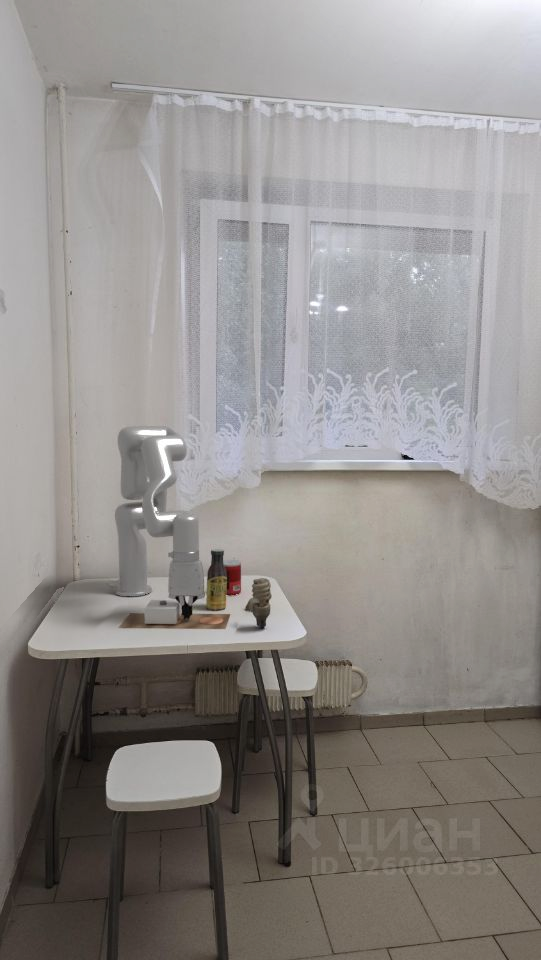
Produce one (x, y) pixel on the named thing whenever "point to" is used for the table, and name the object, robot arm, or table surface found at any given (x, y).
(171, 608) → the block
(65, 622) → the table surface
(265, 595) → the light bulb
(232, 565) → the canned food
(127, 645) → the table surface
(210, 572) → the sauce bottle
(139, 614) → the board
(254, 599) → the beige rounded lump
